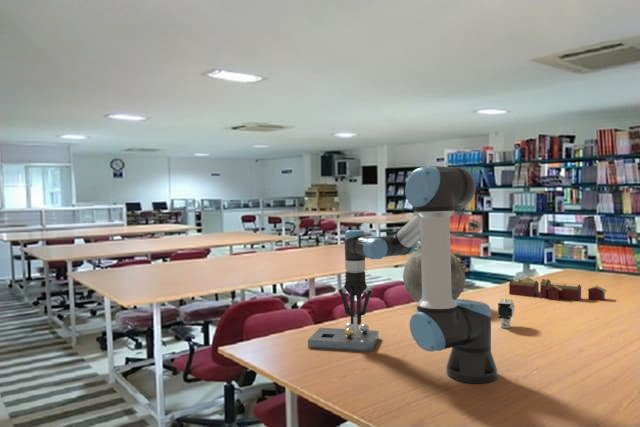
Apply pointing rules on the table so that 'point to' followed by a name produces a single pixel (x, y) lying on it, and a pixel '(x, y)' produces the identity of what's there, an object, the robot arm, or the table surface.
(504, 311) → the pneumatic valve
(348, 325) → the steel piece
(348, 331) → the brass ball
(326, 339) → the hole plate
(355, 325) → the robot arm
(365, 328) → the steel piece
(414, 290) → the mottled grey sphere
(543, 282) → the toy houses
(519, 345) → the table surface
